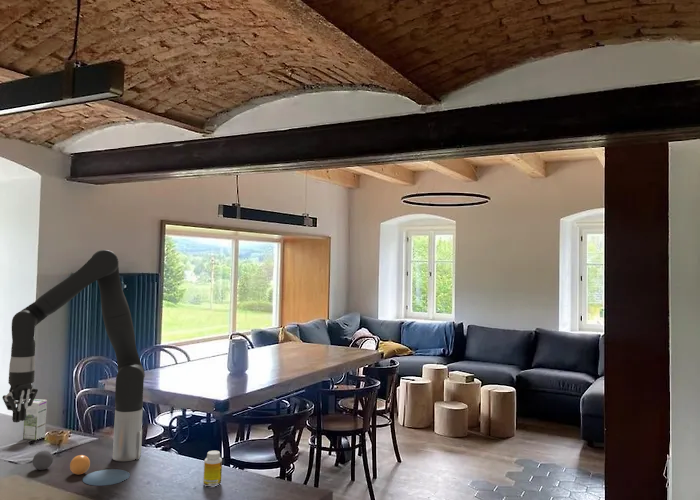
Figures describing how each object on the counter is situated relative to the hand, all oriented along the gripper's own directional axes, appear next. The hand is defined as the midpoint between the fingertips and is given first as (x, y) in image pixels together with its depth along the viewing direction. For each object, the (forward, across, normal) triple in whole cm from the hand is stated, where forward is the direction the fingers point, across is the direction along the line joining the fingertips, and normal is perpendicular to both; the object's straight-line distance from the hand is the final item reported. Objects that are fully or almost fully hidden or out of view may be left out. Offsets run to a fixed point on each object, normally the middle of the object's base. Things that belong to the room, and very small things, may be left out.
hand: (19, 421), depth 190 cm
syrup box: (+15, +28, +17) cm, 36 cm away
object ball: (+12, 0, -24) cm, 27 cm away
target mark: (+15, 0, -34) cm, 37 cm away
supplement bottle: (+15, +4, -69) cm, 71 cm away
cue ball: (+12, 0, -10) cm, 16 cm away
